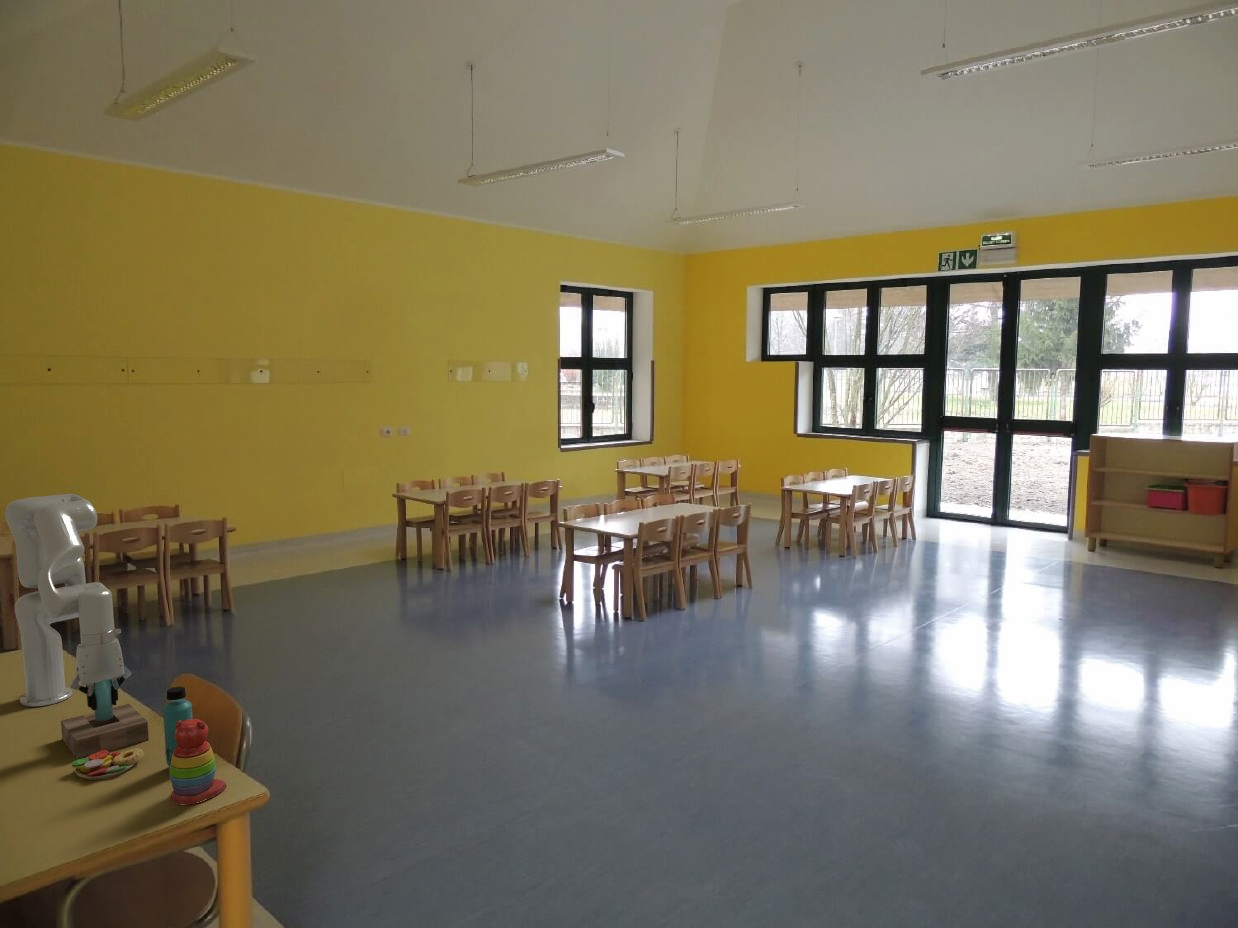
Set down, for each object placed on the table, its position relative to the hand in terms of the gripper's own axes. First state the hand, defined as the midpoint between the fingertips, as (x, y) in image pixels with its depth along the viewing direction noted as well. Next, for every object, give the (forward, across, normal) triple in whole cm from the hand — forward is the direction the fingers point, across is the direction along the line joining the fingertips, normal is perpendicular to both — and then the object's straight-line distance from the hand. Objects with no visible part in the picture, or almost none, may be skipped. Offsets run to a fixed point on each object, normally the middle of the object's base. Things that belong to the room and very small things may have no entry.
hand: (103, 705), depth 224 cm
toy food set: (+10, +4, +18) cm, 21 cm away
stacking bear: (+10, -7, +46) cm, 47 cm away
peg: (+3, 0, 0) cm, 3 cm away
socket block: (+9, 0, 0) cm, 9 cm away
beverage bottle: (+10, -9, +30) cm, 33 cm away
